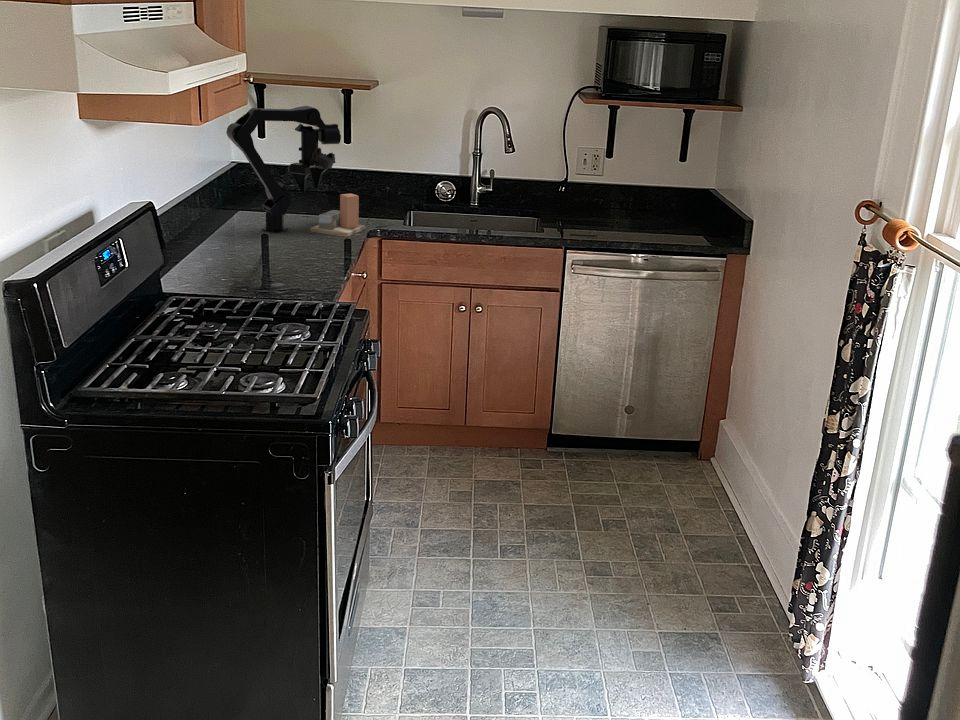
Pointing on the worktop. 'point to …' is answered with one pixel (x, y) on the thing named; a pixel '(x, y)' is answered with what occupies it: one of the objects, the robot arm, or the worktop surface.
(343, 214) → the terracotta block
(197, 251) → the worktop surface
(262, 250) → the worktop surface
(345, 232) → the maple board
